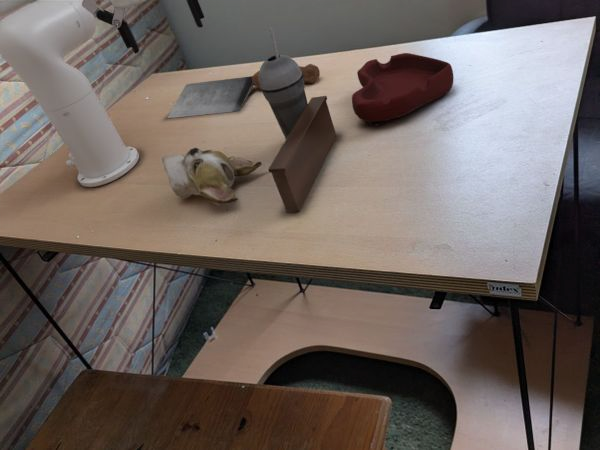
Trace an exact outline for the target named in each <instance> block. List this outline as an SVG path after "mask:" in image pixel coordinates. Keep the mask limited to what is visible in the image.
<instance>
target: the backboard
mask: <svg viewBox="0 0 600 450" xmlns="http://www.w3.org/2000/svg"><path fill="white" fill-rule="evenodd" d="M327 100H328V97H327V95H322V96H314V97H311V98H310V100H309V101H308V102H307V103H308V105H307V106H306V108H305V109H304V111H303V113H302V114H301V116H300V118H299V119H298V121H297V123H296V124H295V126H294V128H293V129H292V131H291V133H290V134H289V136H288V137H287V139H285V141H284V143H283V144H282V146H281V147H280V149H279V151H278V152H277V153H276V155H275V157H274V159H273V161H272V162H271V164H270V165H269V167H268V170H267V171H268V173H269V174H271V175H272V179H273V181H274V183H275V186H276V188H277V191H278V193H279V196H280V199H281V201H282V204H283V207H284V208H285V211H286V213H300V212H301V210H302V208H303V206H304V204H305V202H306V200H307V198H308V196H309V194H310V192H311V189H312V188H313V185H314V184H315V182H316V179H317V178H318V176H319V173H320V171H321V169H322V167H323V165H324V163H325V161H326V159H327V157H328V155H329V154H330V151H331V149H332V148H333V145H334V143H335V141H336V140H337V137H338V136H337V133H336V129H335V126H334V123H333V120H332V116H331V112H330V109H329V106H328V102H327Z"/></svg>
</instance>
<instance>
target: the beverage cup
mask: <svg viewBox="0 0 600 450" xmlns="http://www.w3.org/2000/svg"><path fill="white" fill-rule="evenodd" d="M269 33H270V38H271V42H272V47H273V52H274V55H272V56H269V57H268V58H267V59H266V60H264V61H263V62H262V64H261V66H260V69H259V70H258V71H259V84H260V88H259V90H260V92H262V95H263V96H264V98H265V100H266V101H267V102H268V105H269V107H270V109H271V111H272V114H273V115H274V117H275V119H276V121H277V124H278V126H279V128H280V130H281V132H282V134H283V137H284V139H285V140H286V139H287V137H288V136H289V134H290V133H291V131H292V129H293V128H294V126H295V124H296V123H297V121H298V119H299V118H300V116H301V114H302V113H303V111H304V109H305V108H306V106H307V105H308V103H309V102H308V99H307V95H306V91H305V82H304V79H303V76H304V75H303V73H302V71H301V70H300V67H299V66H300V65H299V64H298V63H297V62H296V61H295V60H294V59H293V58H291V57H290V56H288V55H285V54H279V50H278V46H277V42H276V41H277V40H276V37H275V33H274V28H273V27H269Z"/></svg>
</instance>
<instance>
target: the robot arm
mask: <svg viewBox="0 0 600 450" xmlns="http://www.w3.org/2000/svg"><path fill="white" fill-rule="evenodd" d="M109 1H110V2H111V5H112V6H113V7H114V8H113V12H110V11H108V10H106V9H104V8H101V7H100V6H99V5H98V4H97V0H0V18H2V17H4V18H3V19H2V20H1V21H0V56H1V57H2V59H3V60H4V61H5V62H6V63H7V65H9V67H10V68H11V69H12V70H13V71H14V72H15V73H16V74H17V75H18V77H19V78H20V79H21V81H22V82H23V83H24V85H26V88H28V90H29V91H30V93H31V94H32V95H33V97H34V98H35V100H36V101H37V103H38V104H39V106H40V107H41V109H42V111H43V112H44V114H45V115H46V117H47V118H48V120H49V122H50V123H51V125H52V126H53V128H54V129H55V132H56V133H57V135H58V136H59V137H60V139H61V141H62V142H63V144H64V145H65V147H66V148H67V151H68V152H69V153H68V160H66V163H65V164H66V166H67V167H68V168H71V167H72V168H73V167H75V168H76V169H77V171H78V174H77V181H78V183H79V184H80V186H82V187H86V188H94V187H100V186H103V185H106V184H108V183H111V182H113V181H115V180H117V179H119V178H121V177H123V176H124V175H125V174H127V173H128V172H130V171H131V170H132V169H133V168H134V167H135V165H136V164H137V163H138V161H139V159H140V154H139V152H138V150H137V148H136V147H133V146H126V145H125V143H124V141H123V139H122V138H121V136H120V134H119V132H118V131H117V129H116V127H115V125H114V123H113V122H112V120H111V118H110V116H109V114H108V113H107V111H106V109H105V108H104V105H103V104H102V102H101V100H100V99H99V96H98V95H97V93H96V92H95V89H94V87H93V86H92V84H91V82H90V81H89V79H88V78H87V76H86V75H85V74H84V73H83V72H81V71H80V70H79V69H77V68H76V67H74V66H72V65H70V64H69V63H67V62H65V60H63V58H65V57H66V56H67V55H69V54H70V53H71V52H73V51H74V50H76V49H78V48H79V47H81V46H83V45H84V44H85V43H87V42H88V41H89V40H91V38H92V37H93V36H94V35H95V33H96V29H97V23H96V18H97V20H99V21H101V22H103V23H106V24H109V25H110V26H113V27H114V28H116V29H117V31H118V33H119V35H120V37H121V39H122V41H123V43H124V46H125V47H126V49H130V48H131V49H132V51H133V54H135V55H136V54H138V53H139V52H140V46H139V44H138V42H137V40H136V38H135V36H134V34H133V32H132V29H131V27H130V25H129V24H128V21H125V19H124V15H125V11H126V9H127V8H130V7H133V6H136V5H139V4H141V3H143V2H147V0H109ZM185 1H186V3H187V5H188V8H189V10H190V13H191V15H192V18H193V20H194V23H195V25H196V27H197V28H199V29H200V28H203V27H204V25H203V22H202V19H204V18H205V15H204V12H203V10H202V7H201V4H200V2H199V0H185ZM8 14H9V15H8Z"/></svg>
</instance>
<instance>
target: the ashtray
mask: <svg viewBox="0 0 600 450" xmlns="http://www.w3.org/2000/svg"><path fill="white" fill-rule="evenodd" d="M356 74H357V79H358V81H359V84H360V86H361V88H360V89H358V90H357V91H355V92H354V93H353V94H352V95H351V106H352V109H353V112H354V114H355V116H356V117H357V118H358V119H360V120H361V121H363V122H364V121H365V122H369V124H370V125H371V126H379V125H382V124H384V123H386V122H387V121H390V120H394V119H399V118H400V117H403V116H406V115H407V114H409V113H411V112H412V111H414V110H416V109H417V108H420V107H422V106H425V105H426V104H429V103H430V102H433V101H435V100H437V99H439V98H440V99H441V98H442V97H444V96H446V95H447V93H449V92H450V91H451V89H452V88H453V85H454V78H455V77H454V76H455V75H454V71H453V67H452V65H451V63H449V62H448V61H444V60H442V59H438V58H433V57H429V56H425V55H419V54H415V53H409V52H402V53H398V54H394V55H391V56H390V58H389V60H388V61H387V62H385V63H382V62H380V61H379V60H378V59H377V58H375V59H370V60H368V61H366V62H365V63H364V65H363V66H362V67H360V68H359V69H358V70H357V72H356Z"/></svg>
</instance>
